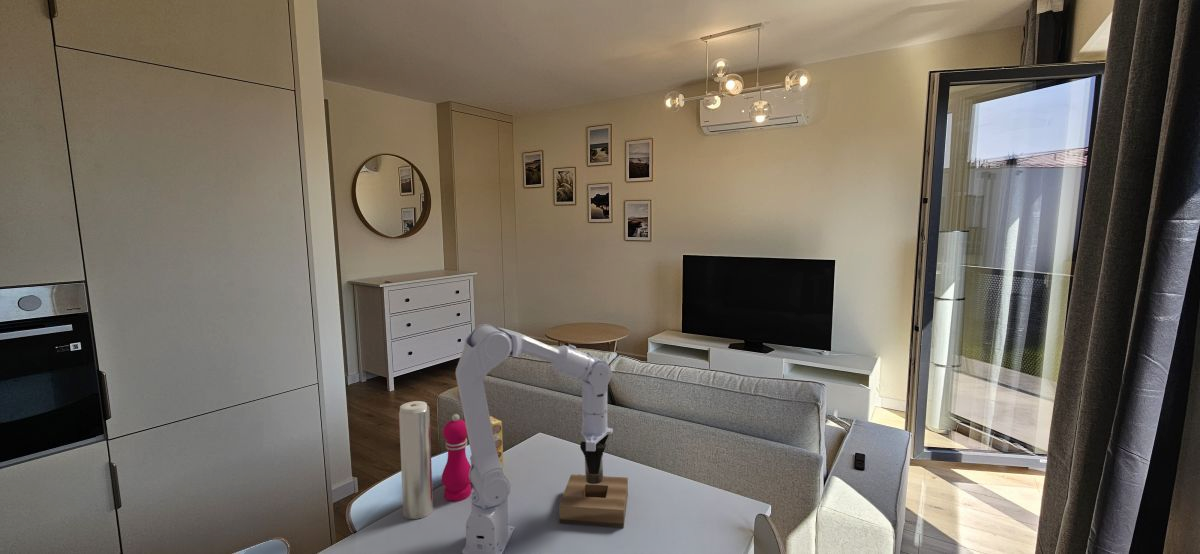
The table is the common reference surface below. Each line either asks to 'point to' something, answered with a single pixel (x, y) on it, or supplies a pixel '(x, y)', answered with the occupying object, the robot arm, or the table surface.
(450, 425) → the pepper mill
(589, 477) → the pin
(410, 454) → the silver cream cylinder
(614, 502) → the bore block
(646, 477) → the table surface
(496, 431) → the candy box
